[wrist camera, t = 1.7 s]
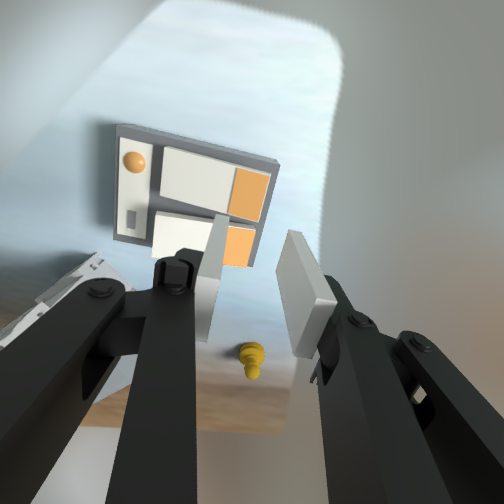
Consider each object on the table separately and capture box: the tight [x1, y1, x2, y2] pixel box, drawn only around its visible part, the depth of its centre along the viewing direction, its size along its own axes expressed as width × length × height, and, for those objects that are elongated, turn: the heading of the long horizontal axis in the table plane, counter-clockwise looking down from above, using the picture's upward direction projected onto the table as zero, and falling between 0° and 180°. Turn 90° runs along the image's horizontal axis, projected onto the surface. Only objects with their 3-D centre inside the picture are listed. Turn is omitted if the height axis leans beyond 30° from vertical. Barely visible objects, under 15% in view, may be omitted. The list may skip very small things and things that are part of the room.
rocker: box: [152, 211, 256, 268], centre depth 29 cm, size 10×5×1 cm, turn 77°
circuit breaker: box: [0, 253, 138, 404], centre depth 32 cm, size 8×14×15 cm, turn 33°
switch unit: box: [113, 124, 280, 267], centre depth 31 cm, size 16×12×5 cm
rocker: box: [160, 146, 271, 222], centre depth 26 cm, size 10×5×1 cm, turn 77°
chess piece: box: [239, 342, 265, 380], centre depth 42 cm, size 4×4×5 cm
